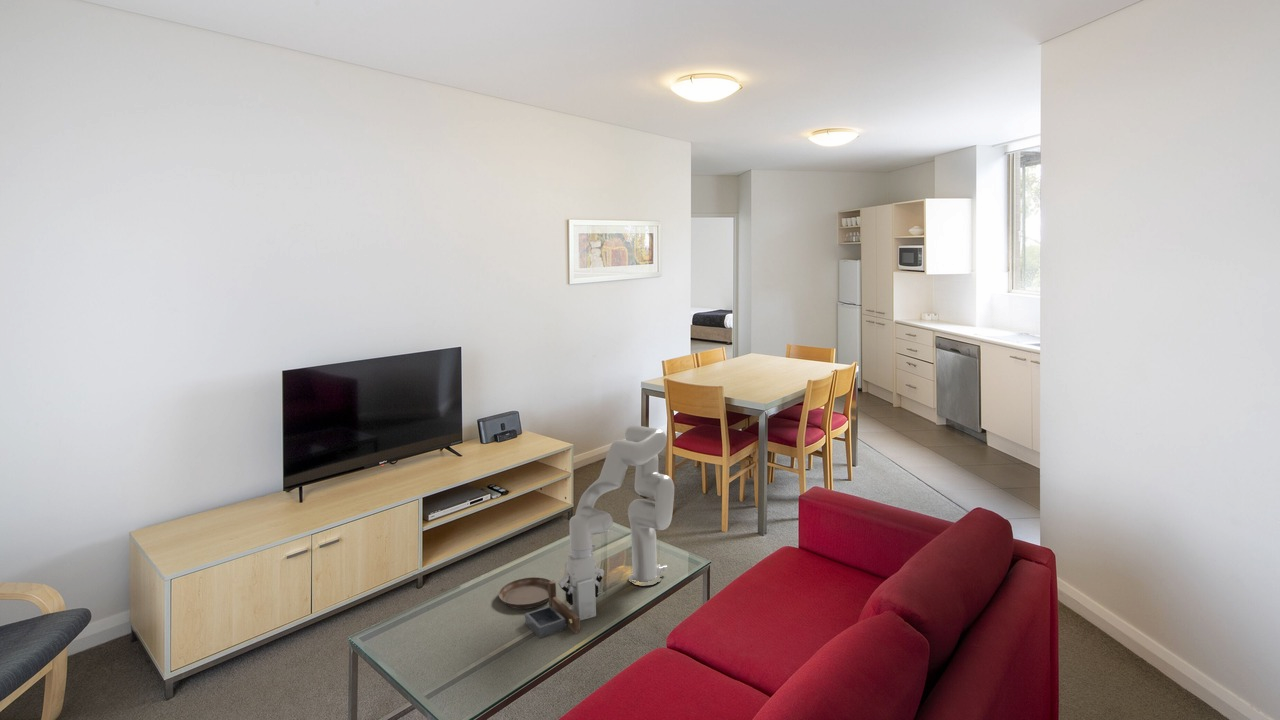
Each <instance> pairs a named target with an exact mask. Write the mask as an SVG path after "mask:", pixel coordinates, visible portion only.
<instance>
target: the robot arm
mask: <svg viewBox="0 0 1280 720" xmlns="http://www.w3.org/2000/svg"><path fill="white" fill-rule="evenodd" d="M624 437H625V439H616V440H614V441H613V442H612V443H611V445H610V447H609V449H608V452H607V455H606V457H605V460H604V464H603V466H602V468H601V471H600V475H599V477H598V478H597V479H596V480H595V481H594V482H593V483H592V484H590V485H589V486H588V487H587V489H586V490H585V491H584V492H583V493H582V494H581V496H580V498H579V501H578V504H577V507H576V510H575V515H573V516H571V517H570V519H569V523H568V525H569V554H570V555H568V557H567V560H566V566H565V568H566V569H565V576H563V578H561V579H560V580H559V581H558V585H559V587H560V588H561V590H563V591H564V592H565V601H566V603H568V604H569V605H570V606H571V605H572V604H573V594H572V593H571V592H572V590H573V589H574V587H577V583H578V582H581V581H585V580H588V579H591V578H593V579H594V580H595V597H596V598H598V597H599V596H598V595H599V586H600V582H601V581H602V580H603V576H604V575H605V570H604V569H602V568H599V567H597V563H596V562H597V561H596V557H595V554H594V552H593V550H594V549H596V545H595V544H593V536H596V535H602V534H605V533H607V532H608V531H610V530H611V528H612V527H613V524H614V518H613V516H612V515H611V514H610V513H609V512H607V511H604V510H600V509H598V508H594V507H595V504H596V502H597V500H598V499H599V498H600V497H601V496H603V494H604V495H605V494H606V493H608V492H611V491H614V490H617V489H619V488H621V487H622V485H623V482H624V479H625V477H626V473H627V470H628V467H629V466H631V467H635V476H634V491H635V493H637V494H638V495H640V496H642V497H646V498H650V499H654V501H653V500H649V499H645V498H637V499H636V498H635V499H633V501H631V502H630V504H629V505H628V508H627V516H628V517H627V518H628V520H629V525H630V532H631V535H630V536H631V565H632V570H631V571H632V572H631V573H630V574H629V575H628V581H629V580H630V581H631V582H634V581H632V580H636V581H639V582H648V581H652V580H654V579H655V578H656V577H657V575H660V574H661V573H662V572H664V571H667V570H668V569H669V567H668V565H667V564H664V565H661V564H659V563H658V552H657V531H656V530H658V531H663V530H667V529H668V528H669V526H670V524H671V522H672V520H673V512H674V511H673V510H674V499H675V483H674V481H673V479H672V478H671V476H670V475H667V474H663V473H660V472H659V455H658V454H660V453H661V452H662V451H663V450H664V448H665V447H666V445H667V441H668V440H667V439H668V438H667V435H666V432H664V431H663V430H662V429H659V428H656V427H655V428H653V427H649V426H648V427H647V426H643V425H630V426H628V427H627V428H626V430H625V433H624ZM631 574H633V575H631ZM566 583H567V585H566V586H565V584H566ZM634 583H636V582H634Z"/></svg>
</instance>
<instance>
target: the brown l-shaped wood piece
mask: <svg viewBox="0 0 1280 720" xmlns="http://www.w3.org/2000/svg"><path fill="white" fill-rule="evenodd" d="M556 583H557V582H555V581H554V580H551V581H550V582H548V596H549V600H548V606H552V607H553V608H554V609H555V610H556V611H557V612H558V613H559V614H560V615H561V616H563V617H564V618H565V619H566V627H568V628H570V629H571V630H572V631H573V632H574V634H578V633H580V632H581V620H580V618H579V617H578V616H577V615H576V614H575V613H574V612H573V611H572V609H571V608H569V607H568V606H567V605H566V604H565V603H564V602H562V601H561V600H560V599H559V598H558V597H557V585H556Z"/></svg>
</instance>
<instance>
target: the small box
mask: <svg viewBox="0 0 1280 720" xmlns="http://www.w3.org/2000/svg"><path fill="white" fill-rule="evenodd" d="M571 593H572V594H573V604H572V605H570V606H571V608H570V609H571V610H572V611H573V612H574V613H575V614H576V615H577V616H578V617H579V618H580V621H584V620H588V619H591V618H594V617H597V606H596V605H597V604H596V603H597V602H596V601H597V600H596V598H597V597H595V580H594V579H593V578H591V579H588V580H585V581H581V582H578V583H577V587H574V589H573V590H572V592H571Z"/></svg>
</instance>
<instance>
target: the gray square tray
mask: <svg viewBox="0 0 1280 720" xmlns="http://www.w3.org/2000/svg"><path fill="white" fill-rule="evenodd" d="M524 621H525V625H526V626H527V627H528V628H529V629H530V630H531V631H532V632H533V633H534V634H535V635H536V637H538V639H542V638H545V637H548V636H551V635H554V634H556V633H559V632H563V631H566V630H567V625H566V619H565V618H564V617H563V616H561V615H560V614H559V613H558V612H557V611H556V610H555V609H554V608H553V607H552V606H549V605H548V606H545V607H542V608H539V609H536V610H532V611H529V612H525V613H524Z"/></svg>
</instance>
